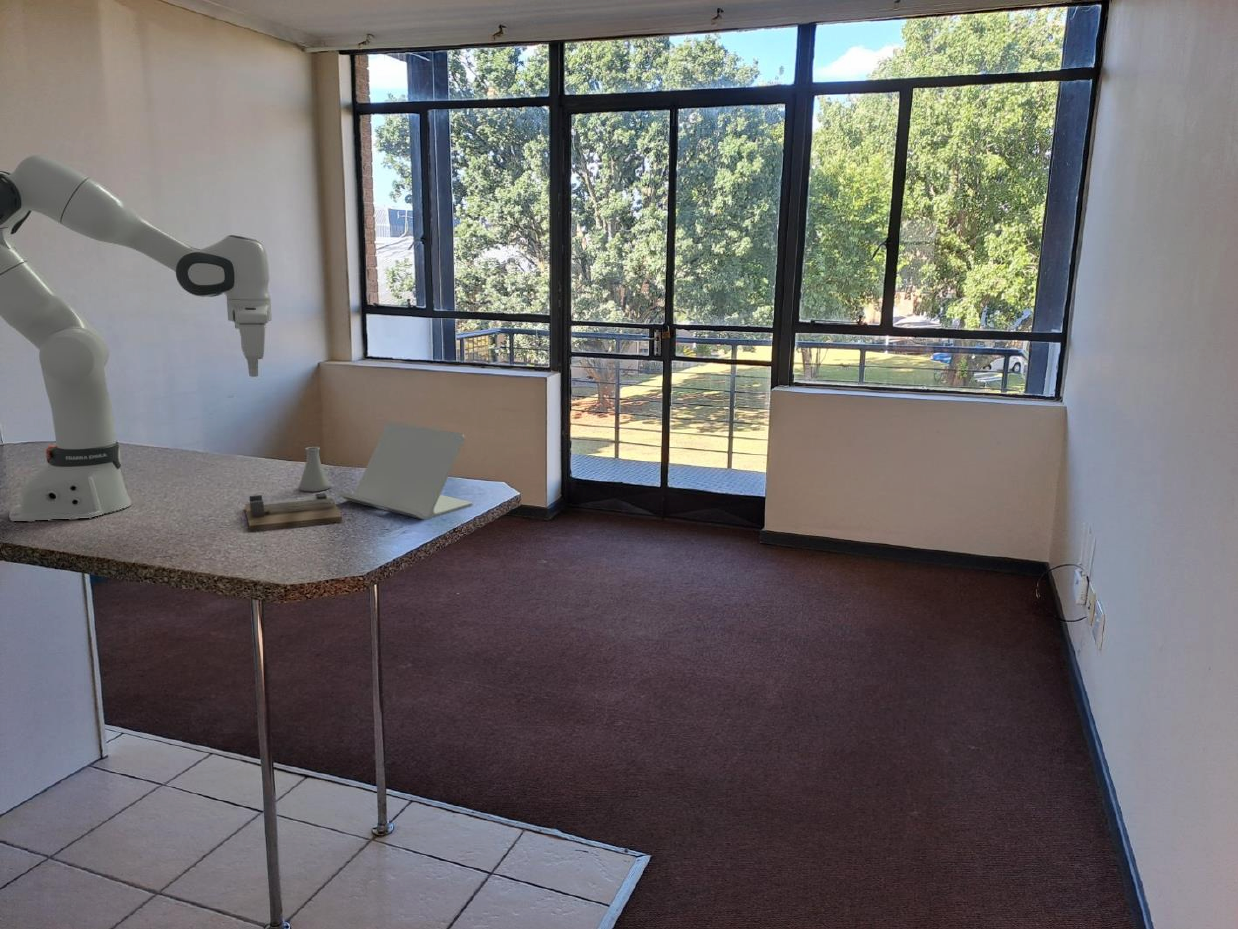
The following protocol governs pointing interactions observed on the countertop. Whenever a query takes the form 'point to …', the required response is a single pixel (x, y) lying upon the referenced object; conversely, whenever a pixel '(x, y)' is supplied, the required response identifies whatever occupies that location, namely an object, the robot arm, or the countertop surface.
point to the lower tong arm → (258, 508)
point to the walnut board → (292, 518)
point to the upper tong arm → (298, 501)
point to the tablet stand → (410, 472)
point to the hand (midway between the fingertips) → (253, 376)
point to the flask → (313, 472)
